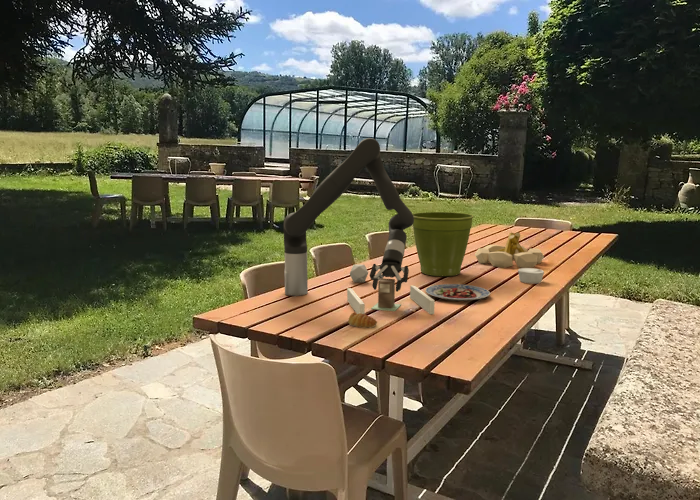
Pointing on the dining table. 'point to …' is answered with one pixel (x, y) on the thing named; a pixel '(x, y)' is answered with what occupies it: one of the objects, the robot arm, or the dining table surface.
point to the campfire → (509, 254)
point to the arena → (415, 295)
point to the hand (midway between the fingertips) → (385, 289)
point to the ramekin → (530, 275)
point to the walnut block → (386, 293)
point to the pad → (386, 308)
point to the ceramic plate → (457, 292)
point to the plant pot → (441, 241)
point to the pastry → (361, 320)
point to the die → (358, 273)
